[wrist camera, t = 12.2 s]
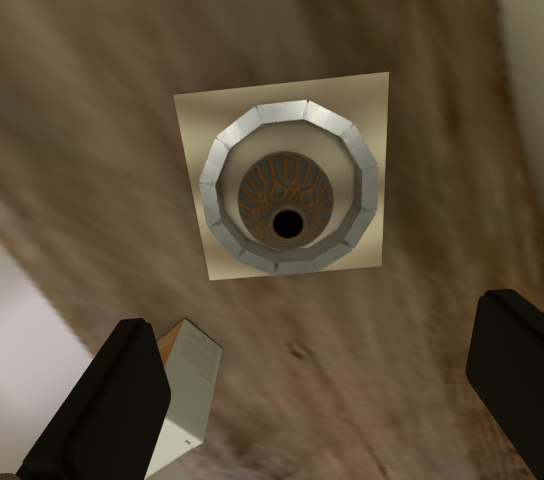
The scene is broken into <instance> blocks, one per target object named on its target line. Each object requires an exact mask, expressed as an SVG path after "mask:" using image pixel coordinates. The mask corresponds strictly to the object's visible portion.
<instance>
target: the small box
mask: <svg viewBox="0 0 544 480" xmlns="http://www.w3.org/2000/svg"><path fill="white" fill-rule="evenodd" d="M157 345H158V349H159V352H160V355H161V359H162V362H163V365H164V369H165V372H166V375H167V379H168V382H169V385H170V388H171V402H170V405H169V408H168V411H167V414H166V417H165V420H164V423H163V426H162V429H161V432H160V435H159V438H158V441H157V444H156V447H155V449H154V452H153V455H152V458H151V461H150V464H149V467H148V470H147V473H146V476H145V479H146V478H148V477H149V476H150V475H152V474H153V473H154V472H156V471H158V470H159V469H161V468H162V467H164V466H165V465H167V464H169V463H170V462H172V461H173V460H175V459H176V458H178V457H179V456H181V455H183V454H184V453H186V452H187V451H189V450H191V449H192V448H194V447H196V446H198V445H200V444H202V443H203V441H204V436H205V431H206V426H207V421H208V416H209V412H210V407H211V402H212V398H213V393H214V388H215V383H216V379H217V374H218V369H219V364H220V359H221V354H222V348H221V347H219V346H218V345H217V344H216V343H215V342H213V341H212V340H211V339H210V338H208V337H207V336H206V335H205V334H203V333H202V332H201V331H200V330H199V329H197V328H196V327H195V326H194V325H192V324H191V323H190V322H189V321H188V320H186V319H183V320H182V321H181V322H180V323H179V324H178V325H176V326H175V327H174V328H173V329H172V330H171V331H169V332H168V333H167V334H166V335H164V336H163V337H162V338H161V339H159V340H158V341H157ZM145 479H144V480H145Z"/></svg>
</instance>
